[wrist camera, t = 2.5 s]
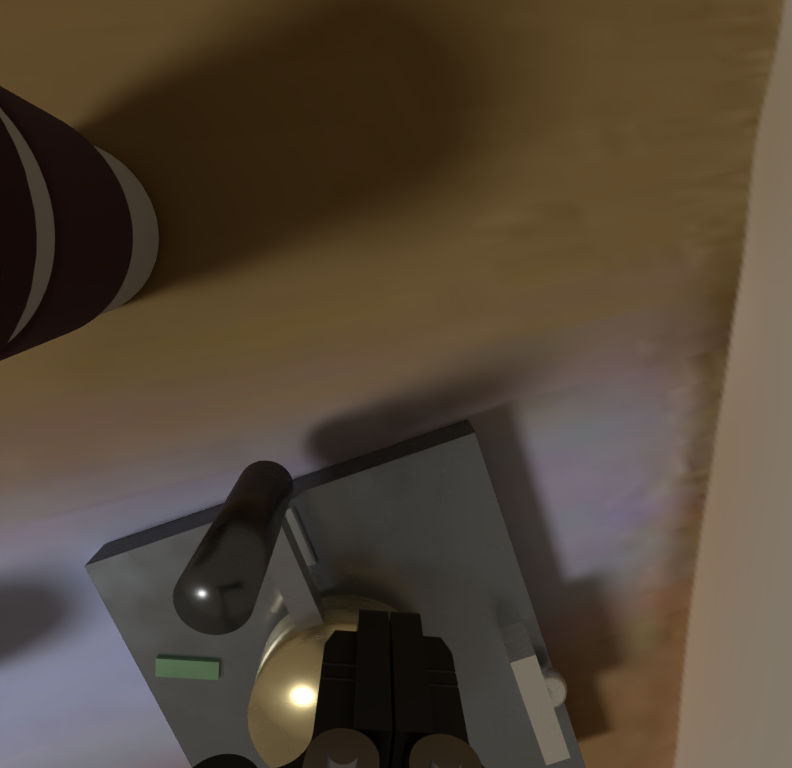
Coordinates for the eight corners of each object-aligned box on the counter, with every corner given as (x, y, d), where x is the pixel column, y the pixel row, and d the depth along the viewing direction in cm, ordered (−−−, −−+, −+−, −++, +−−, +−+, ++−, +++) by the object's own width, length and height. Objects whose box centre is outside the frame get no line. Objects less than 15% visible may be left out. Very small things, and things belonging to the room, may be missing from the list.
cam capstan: (449, 708, 28) (480, 896, 20) (297, 757, 28) (266, 962, 20) (341, 432, 25) (326, 522, 16) (170, 491, 25) (71, 608, 17)
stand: (579, 739, 32) (611, 814, 28) (258, 841, 33) (241, 929, 28) (473, 417, 27) (492, 448, 23) (104, 544, 28) (56, 596, 24)
